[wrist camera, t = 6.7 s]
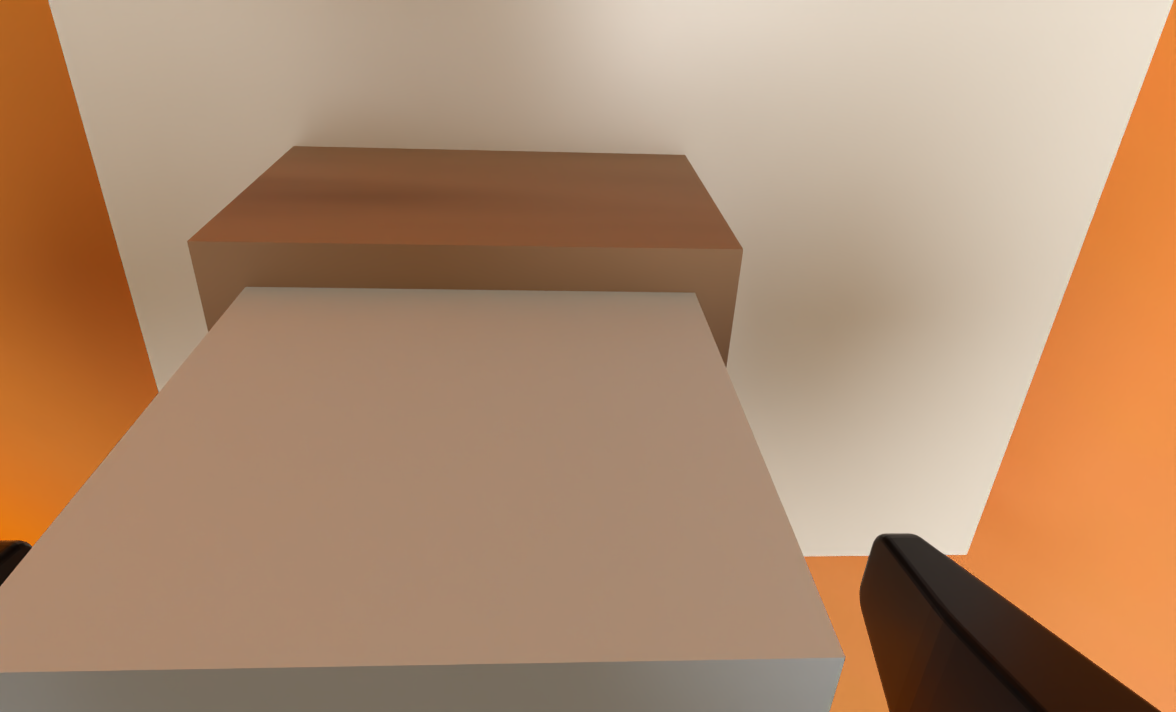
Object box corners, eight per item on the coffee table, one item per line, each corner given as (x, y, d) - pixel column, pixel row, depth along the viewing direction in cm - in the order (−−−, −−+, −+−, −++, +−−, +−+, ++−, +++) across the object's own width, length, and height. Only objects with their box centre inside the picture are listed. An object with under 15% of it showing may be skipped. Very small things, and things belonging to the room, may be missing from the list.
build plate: (945, 523, 17) (966, 554, 17) (224, 529, 16) (206, 562, 16) (1130, -10, 12) (1175, -5, 11) (74, -50, 11) (34, -48, 10)
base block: (655, 462, 15) (688, 626, 11) (341, 463, 15) (278, 633, 11) (685, 154, 12) (743, 249, 9) (293, 145, 12) (187, 241, 8)
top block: (658, 604, 11) (732, 1036, 7) (309, 608, 11) (153, 1065, 7) (694, 292, 9) (843, 657, 4) (245, 286, 8) (-70, 674, 4)
